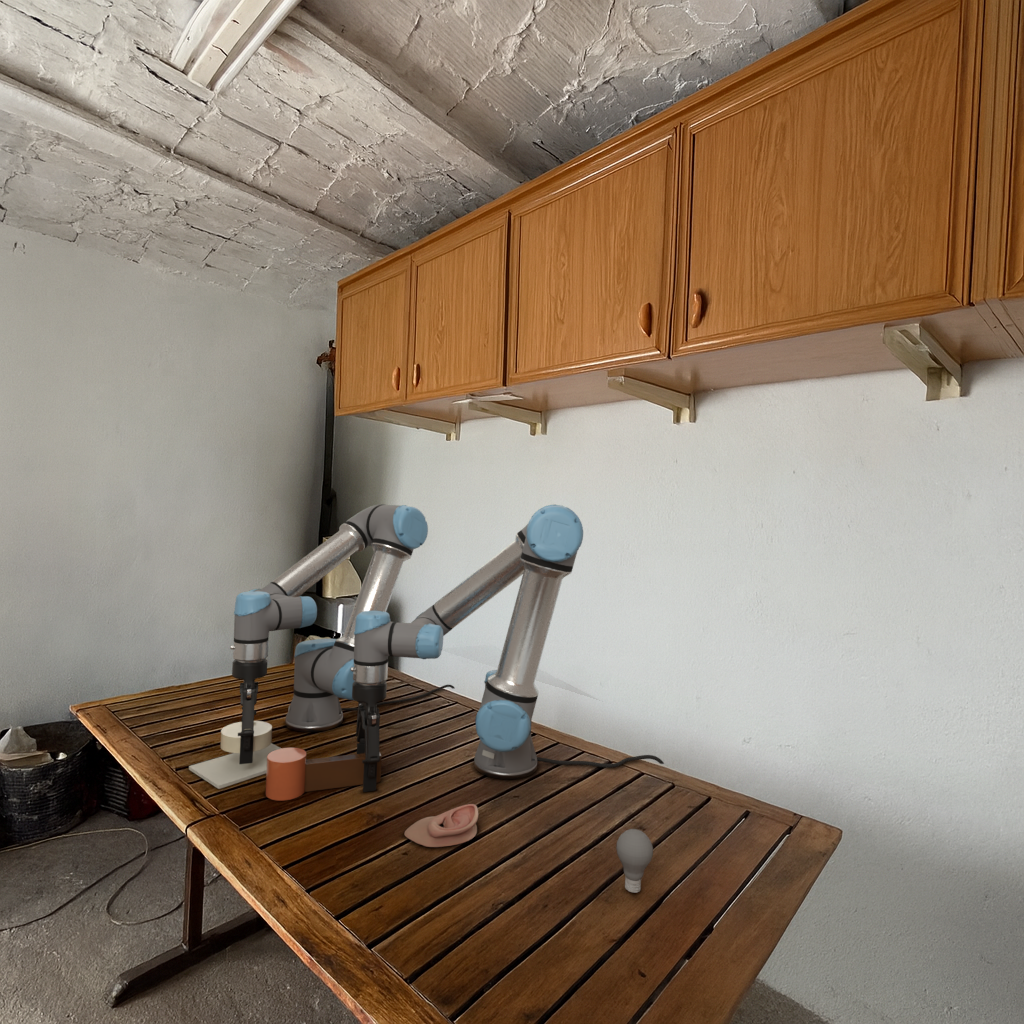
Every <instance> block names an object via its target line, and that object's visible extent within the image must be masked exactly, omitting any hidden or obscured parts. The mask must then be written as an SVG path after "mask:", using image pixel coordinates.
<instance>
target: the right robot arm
mask: <svg viewBox="0 0 1024 1024" xmlns="http://www.w3.org/2000/svg"><path fill="white" fill-rule="evenodd" d="M583 528H584V527H583V523H582V521H581V519H580V517H579V516H578V515H577V514H576V512H575V511H573V510H572V509H571V508H570V507H568V506H564V505H560V504H549V505H545V506H542V507H540V508H539V509H538V510H536V511H535V512H534V513H533V514H532V516H531V518H530V519H529V521H528V523H526V525H525V526H524V527H522V529H520V530H519V531H518V532H517V533H515V538H514V541H512V542H510V543H509V544H508V545H507V546H505V548H503V549H502V550H500V551H499V552H498V553H497V554H495V555H494V556H493V557H492V558H490V559H489V560H488V561H486V563H484V564H483V565H482V566H480V567H479V568H478V569H476V570H475V571H473V572H472V574H470V575H469V576H468V577H466V578H465V579H464V580H462V581H461V582H460V583H459V584H457V585H456V586H454V587H453V588H452V589H451V590H450V591H448V592H447V593H446V594H445V595H443V596H442V597H441V598H440V599H438V600H437V601H436V602H435V603H433V604H432V605H431V606H430V607H428V608H427V609H425V610H424V611H423V612H421V613H419V614H418V616H416V617H415V619H413V620H412V621H411V622H397V621H391V615H390V613H389V612H388V611H386V612H384V611H383V612H382V611H364V612H361V613H359V614H358V615H357V617H356V624H355V632H354V667H351V671H352V672H353V680H354V682H353V684H352V698H353V700H352V701H354V702H357V708H358V711H357V715H356V716H357V718H356V730H355V736H356V742H357V743H356V754H362V753H365V760H362V763H364V777H363V785H362V792H363V793H367V792H368V793H369V792H375V791H377V783H376V781H377V762H379V761H380V754H381V752H380V751H381V750H380V749H381V748H380V747H381V746H380V722H381V715H380V708H379V707H378V706H377V705H376V704H377V703H380V702H383V701H384V700H385V699H386V698H387V691H388V683H387V680H388V672H389V671H388V669H389V657H397V658H409V659H421V660H427V659H428V660H435V659H438V658H440V657H441V655H442V652H443V646H444V637H445V636H446V635H447V634H448V633H449V632H451V631H452V630H453V629H454V628H456V627H457V626H458V625H459V624H461V623H462V622H463V621H465V620H466V619H468V617H470V616H471V615H472V614H474V613H475V612H476V611H477V610H479V609H480V608H481V607H483V606H484V605H485V604H486V603H488V602H489V601H491V600H492V599H493V598H494V597H496V596H497V595H498V594H499V593H501V592H502V591H504V590H505V589H506V588H507V587H508V586H510V585H511V584H513V582H515V581H516V580H517V579H519V578H520V577H521V576H522V577H521V581H520V584H519V588H518V591H517V595H516V598H515V602H514V607H513V611H512V612H511V613H512V614H511V617H510V621H509V625H508V629H507V633H506V636H505V639H504V643H503V647H502V651H501V653H500V654H501V655H500V658H499V661H498V665H497V669H493V670H489V671H487V672H486V674H485V680H484V682H483V683H484V691H483V695H482V698H481V702H480V706H479V709H478V711H477V713H476V716H475V721H474V723H475V731H476V734H477V736H478V739H479V743H478V745H477V749H476V751H475V753H474V759H473V762H474V763H473V766H474V767H473V768H475V770H476V771H477V772H479V773H480V774H481V775H484V776H486V777H490V778H493V779H498V780H499V779H500V780H515V779H516V780H518V779H523V778H526V777H529V776H531V775H533V774H535V773H536V771H537V769H538V762H540V763H547V764H553V765H560V766H574V765H575V766H590V767H597V768H604V769H611V768H612V769H613V768H618V767H621V766H623V765H624V764H626V763H628V762H634V761H640V760H654V761H656V762H657V763H659V764H660V765H664V764H665V763H664V760H662V759H661V758H660V757H658V756H656V755H653V754H642V755H636V756H629V757H626V758H623V759H620V761H618V762H614V763H604V762H603V763H602V762H596V761H588V760H559V759H558V760H557V759H552V758H546V757H539V756H537V753H536V749H535V745H534V741H533V737H532V723H533V722H532V719H533V715H534V711H535V708H536V704H537V701H538V696H539V689H538V688H537V686H536V684H535V681H536V678H537V674H538V670H539V667H540V663H541V659H542V657H543V652H544V648H545V645H546V641H547V637H548V635H549V634H548V633H549V630H550V626H551V623H552V619H553V615H554V611H555V608H556V605H557V601H558V597H559V594H560V590H561V586H562V582H563V580H564V578H566V577H568V576H569V575H571V574H572V572H573V568H574V565H575V561H576V558H577V554H578V551H579V549H580V547H581V546H582V543H583V540H584V529H583Z"/></svg>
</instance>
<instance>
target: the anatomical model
mask: <svg viewBox="0 0 1024 1024" xmlns="http://www.w3.org/2000/svg"><path fill="white" fill-rule="evenodd" d="M478 820H479V809H478V806H477V805H476V804H475V803H468V804H463V805H460V806H456V807H454V808H451V809H449V810H447V811H444V812H442V813H440V814H438V815H435V816H432V815H431V816H426V817H423V818H421V819H419V820H417V821H416V822H414V823H413V824H411V825H410V826H408V828H407V829H406V830H405V831H404V836H405V837H406V838H407V839H408V840H410V841H412V842H414V843H415V844H418V845H421V846H423V847H427V848H442V847H451V846H456V845H461V844H464V843H466V842H469V841H471V840H472V839H473V838H474V837H476V835H477V833H478V825H477V822H478Z"/></svg>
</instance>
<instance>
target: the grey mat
mask: <svg viewBox="0 0 1024 1024" xmlns="http://www.w3.org/2000/svg"><path fill="white" fill-rule="evenodd" d="M282 748H283V747H282ZM282 748H281V747H280V746H278V745H276V744H274V743H272V742H271V744H270V745H269V746H268V747H266V748H264V749H262V750H258V751H254V752H253V763H248V764H239V762H240V753H229V754H226V755H223V756H219V757H216V758H212V759H209V760H204V761H202V762H198V763H196V764H191V765H189V766H188V770H189V771H190V772H191V773H193V774H194V775H197V776H198V777H199V778H201V779H202V780H204V781H205V782H208V783H209V784H210V785H212V786H213V787H214V788H216V789H218V790H221V789H224V788H226V787H230V786H232V785H236V784H238V783H239V784H240V783H242V782H245V781H248V780H251V779H254V778H257V777H259V776H264V775H266V768H267V755H268V754H269V753H270V752H272V751H274V750H278V749H282Z"/></svg>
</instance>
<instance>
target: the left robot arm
mask: <svg viewBox="0 0 1024 1024" xmlns="http://www.w3.org/2000/svg"><path fill="white" fill-rule="evenodd" d="M338 529H339V530H338V531H337V532H336V533H334V534H333V535H332V536H330V537H329V538H327V539H326V540H325V541H324V542H322V543H321V544H319V545H318V546H317V547H316V548H315V549H312V551H310V552H309V553H308V554H307V555H305V556H304V557H302V558H301V559H300V560H299V561H297V562H296V563H294V564H293V565H292V566H290V567H289V568H288V569H286V570H285V571H284V572H283V573H281V574H280V575H279V576H277V577H276V578H275V579H273V580H272V581H271V582H269V583H268V584H267V585H265V586H263V587H262V588H254V589H251V590H249V591H242V592H240V593H238V594H236V598H235V603H234V610H233V615H234V620H233V621H234V622H233V623H234V624H233V644H232V645H230V647H229V648H230V650H233V651H232V658H233V659H234V660H233V661H232V665H231V666H232V667H231V676H232V677H233V678H234V679H236V680H243V682H240V683H239V694H240V706H242V707H241V710H242V711H241V719H240V722H242V731H241V733H238V736H241V739H240V762H239V764H248V763H253V740H254V721H255V716H256V715H257V710H256V709H255V705H257V703H258V702H257V701H258V700H257V698H258V693H259V681H256V679H261V678H262V679H263V678H264V677H265V676H266V675H267V674H268V659H267V658H268V657H269V636H270V632H276V631H282V630H283V631H284V630H291V629H301V628H306V627H310V626H312V625H313V624H314V623H315V621H316V620H317V616H318V606H317V603H316V601H315V600H314V599H313V598H312V597H311V596H306V595H305V596H302V595H303V594H304V593H305V592H306V591H308V590H309V589H310V588H312V587H313V586H314V585H316V584H317V583H318V582H319V581H320V580H322V579H323V578H324V577H325V576H327V575H329V573H331V572H332V571H333V570H334V569H336V568H337V567H338V566H339V565H341V564H342V563H343V562H344V561H346V560H347V559H348V558H349V557H351V556H352V555H353V554H354V553H357V552H358V553H360V552H363V551H364V550H366V549H367V548H368V547H371V549H372V550H373V554H372V557H371V559H370V563H369V565H368V567H367V571H366V573H365V576H364V578H363V581H362V584H361V587H360V590H359V592H358V595H357V597H356V600H355V603H354V606H353V608H352V611H351V614H350V617H349V620H348V622H347V625H346V628H345V630H344V633H343V635H342V636H340V637H338V638H331V639H316V640H308V641H305V640H304V641H300V642H299V643H297V644H296V646H295V650H294V655H293V657H294V672H293V673H294V674H293V695H292V696H293V697H292V699H291V702H290V704H289V705H288V708H287V709H288V711H287V713H286V715H285V726H286V728H287V729H289V730H291V731H294V732H295V731H296V732H301V733H316V732H325V731H329V730H332V729H335V728H337V727H339V726H340V725H342V723H343V722H344V714H343V712H347V711H349V712H351V711H352V712H358V707H342V706H341V702H340V699H342V700H347V701H354V700H353V698H352V684H353V682H354V680H353V672H352V671H351V667H354V632H355V624H356V617H357V615H358V614H359V613H361V612H364V611H382V612H383V611H384V612H387V611H388V607H389V604H390V603H391V602H390V601H391V599H392V596H393V594H394V590H395V587H396V585H397V582H398V579H399V577H400V573H401V570H402V567H403V565H404V562H406V561H408V560H410V559H411V558H412V555H413V553H414V550H416V549H418V548H420V547H421V546H423V545H424V544H425V543H426V540H427V538H428V534H429V526H428V522H427V520H426V516H425V514H424V513H423V512H422V511H421V510H420V509H418V508H417V507H414V506H410V505H406V504H402V505H397V504H384V503H382V504H380V503H379V504H374V505H371V506H368V507H366V508H364V509H362V510H361V511H359V512H358V513H356V514H354V515H352V517H350V518H348V519H347V520H346V521H344V522H343V523H341V525H340V526H339V528H338ZM445 688H451V689H452V690H454V689H455V688H456V687H455V686H454V685H452V684H444V685H442V686H439V687H437V688H434V689H432V690H429V691H428V692H424V693H422V694H419V695H416V696H412V697H411V696H410V697H407V698H402V699H396V700H395V699H394V700H387V701H380V702H378V703H376V705H377V707H379V706H385V705H390V704H398V703H404V702H410V701H414V700H418V699H420V698H423V697H426V696H428V695H431V694H433V693H435V692H438V691H441V690H443V689H445ZM245 729H249V730H245Z"/></svg>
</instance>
